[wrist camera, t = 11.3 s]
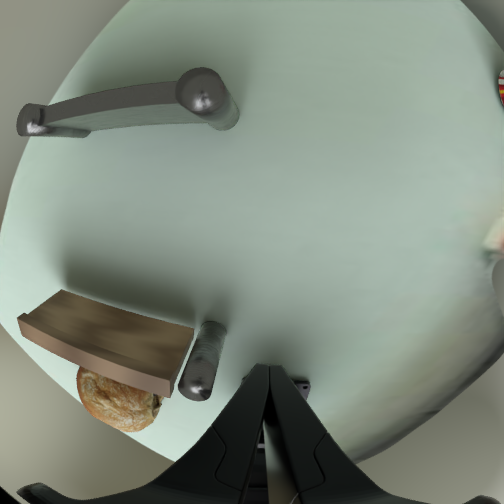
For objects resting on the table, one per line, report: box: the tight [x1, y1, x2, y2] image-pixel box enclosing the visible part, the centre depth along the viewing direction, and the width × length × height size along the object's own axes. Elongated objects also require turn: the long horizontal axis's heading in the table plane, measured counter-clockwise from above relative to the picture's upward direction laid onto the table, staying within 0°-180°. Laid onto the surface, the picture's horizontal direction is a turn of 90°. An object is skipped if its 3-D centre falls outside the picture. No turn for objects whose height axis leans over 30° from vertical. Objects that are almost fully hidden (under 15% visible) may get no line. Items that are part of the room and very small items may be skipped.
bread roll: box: [76, 366, 164, 432], centre depth 23 cm, size 10×10×8 cm
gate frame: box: [17, 67, 239, 401], centre depth 16 cm, size 19×14×7 cm
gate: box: [17, 289, 194, 398], centre depth 18 cm, size 14×2×7 cm, turn 80°
